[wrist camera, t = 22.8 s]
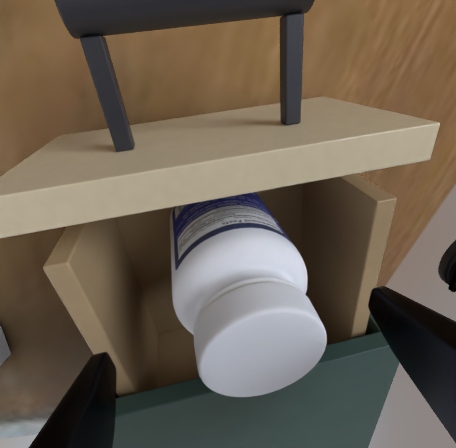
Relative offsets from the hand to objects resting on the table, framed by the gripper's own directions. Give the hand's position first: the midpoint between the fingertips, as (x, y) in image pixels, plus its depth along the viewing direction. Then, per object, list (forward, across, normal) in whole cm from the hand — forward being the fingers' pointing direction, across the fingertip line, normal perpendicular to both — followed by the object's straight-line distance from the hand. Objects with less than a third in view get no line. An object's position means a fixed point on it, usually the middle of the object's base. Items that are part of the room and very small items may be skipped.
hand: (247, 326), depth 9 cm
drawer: (+9, 0, 0) cm, 9 cm away
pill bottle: (+8, 0, 0) cm, 8 cm away
